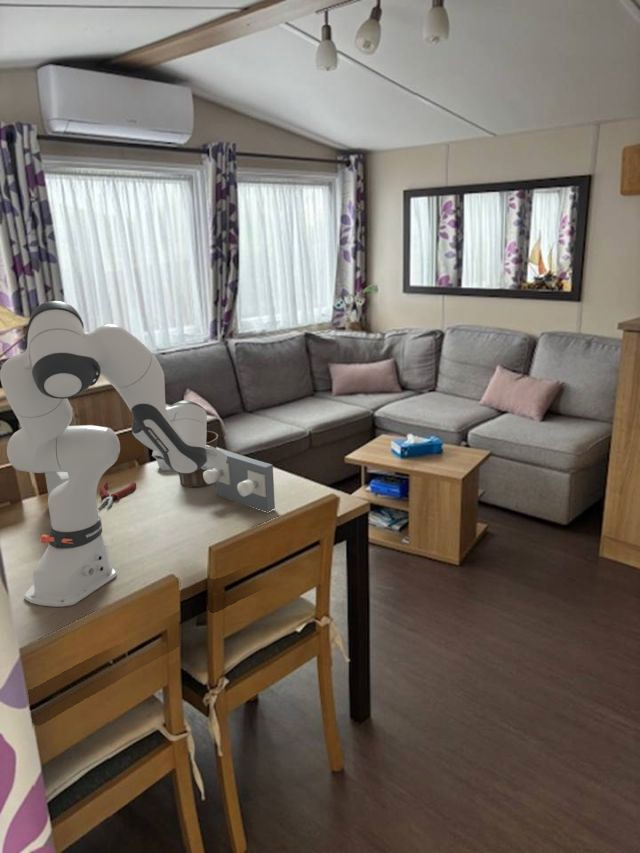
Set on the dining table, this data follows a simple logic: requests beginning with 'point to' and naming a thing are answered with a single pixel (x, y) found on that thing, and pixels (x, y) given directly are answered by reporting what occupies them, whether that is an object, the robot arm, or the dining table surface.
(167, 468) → the ramekin
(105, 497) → the pliers
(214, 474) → the knob left
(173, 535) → the dining table surface
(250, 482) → the knob right
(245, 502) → the mount
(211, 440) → the plant pot
